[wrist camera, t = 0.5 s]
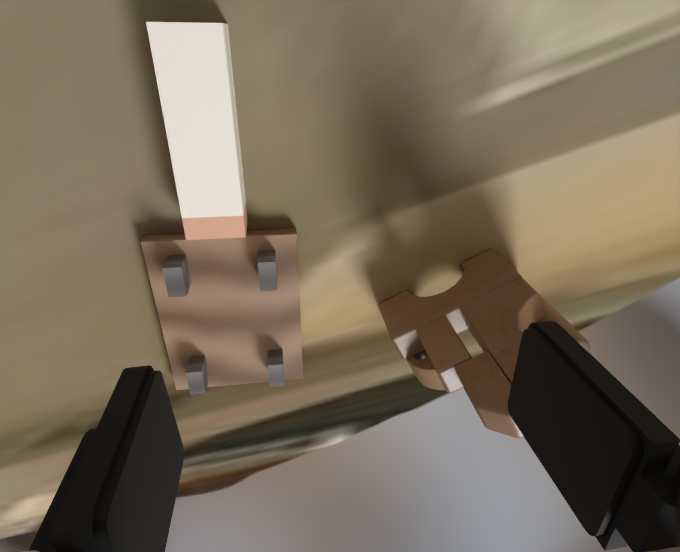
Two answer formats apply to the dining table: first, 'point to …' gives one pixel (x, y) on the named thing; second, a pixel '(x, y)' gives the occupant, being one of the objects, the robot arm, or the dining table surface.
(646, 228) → the dining table surface
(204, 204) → the block
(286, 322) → the brown fixture board
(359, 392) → the dining table surface
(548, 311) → the wooden toy
